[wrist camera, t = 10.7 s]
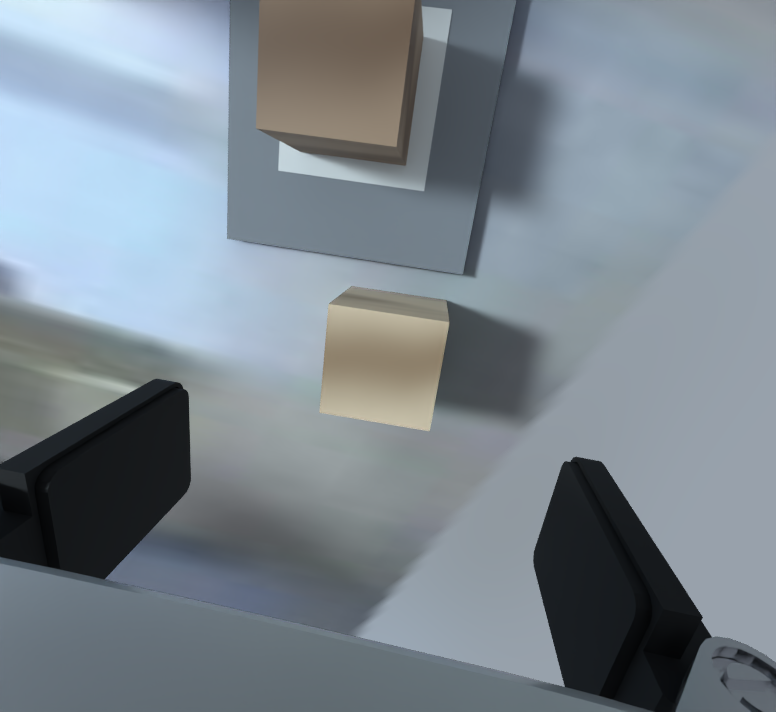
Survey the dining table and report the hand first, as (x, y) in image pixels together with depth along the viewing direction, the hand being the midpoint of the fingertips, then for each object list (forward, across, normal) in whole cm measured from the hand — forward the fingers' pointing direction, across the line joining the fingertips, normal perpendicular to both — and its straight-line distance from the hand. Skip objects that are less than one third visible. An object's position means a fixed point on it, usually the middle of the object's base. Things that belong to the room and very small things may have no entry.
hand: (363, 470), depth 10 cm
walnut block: (+12, +4, -11) cm, 16 cm away
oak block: (+13, +1, 0) cm, 13 cm away
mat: (+13, +4, -11) cm, 17 cm away
